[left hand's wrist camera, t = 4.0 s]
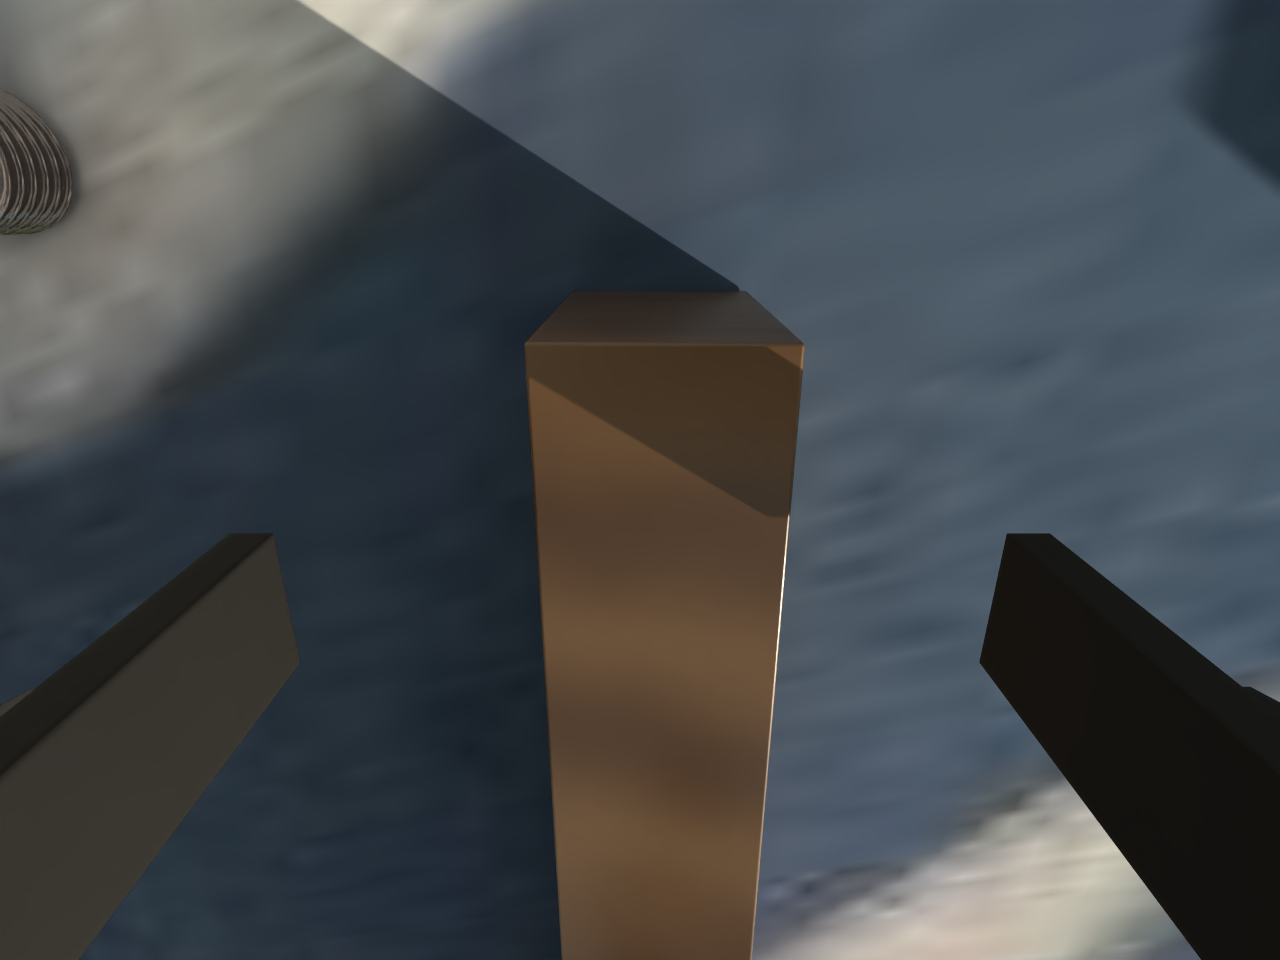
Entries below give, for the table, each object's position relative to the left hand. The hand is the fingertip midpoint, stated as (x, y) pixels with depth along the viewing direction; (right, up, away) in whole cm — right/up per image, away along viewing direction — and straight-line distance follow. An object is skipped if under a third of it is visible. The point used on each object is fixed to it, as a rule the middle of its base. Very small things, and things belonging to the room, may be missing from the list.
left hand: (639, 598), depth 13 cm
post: (+1, -19, +18) cm, 26 cm away
